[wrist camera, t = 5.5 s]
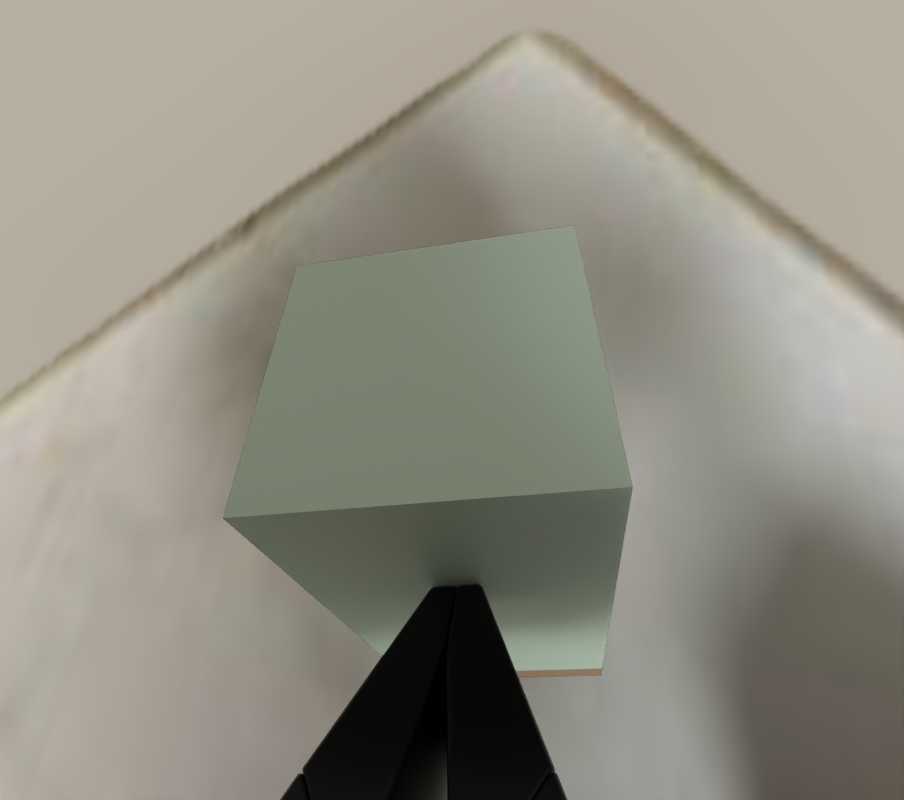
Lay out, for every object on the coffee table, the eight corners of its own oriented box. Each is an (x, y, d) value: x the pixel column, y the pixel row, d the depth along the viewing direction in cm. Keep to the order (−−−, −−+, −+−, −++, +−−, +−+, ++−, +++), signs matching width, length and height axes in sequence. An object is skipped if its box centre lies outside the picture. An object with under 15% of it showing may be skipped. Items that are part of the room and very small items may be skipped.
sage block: (600, 675, 14) (632, 487, 6) (410, 680, 15) (223, 518, 7) (574, 499, 17) (574, 225, 9) (419, 510, 18) (296, 265, 10)
